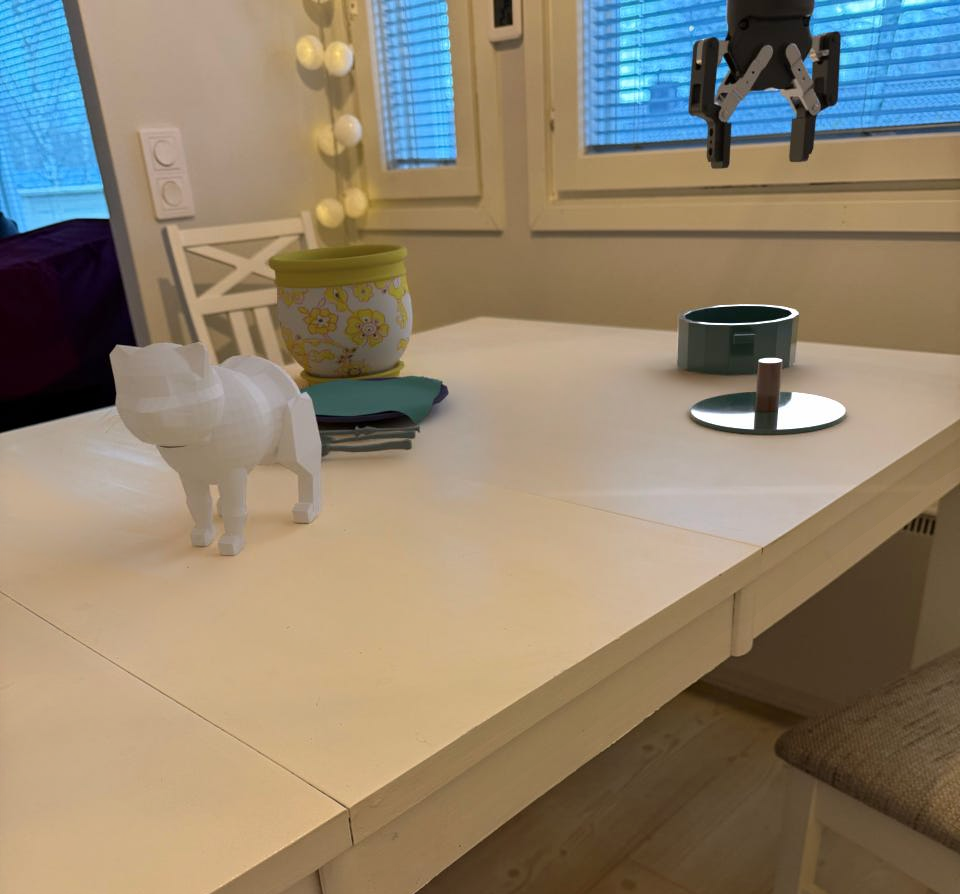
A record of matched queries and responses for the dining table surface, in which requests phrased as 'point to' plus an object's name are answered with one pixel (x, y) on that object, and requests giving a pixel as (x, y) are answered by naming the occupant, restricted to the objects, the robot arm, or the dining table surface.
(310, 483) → the cat figurine
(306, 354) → the flowerpot
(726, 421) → the cover
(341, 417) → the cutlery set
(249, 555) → the dining table surface
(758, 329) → the tin
